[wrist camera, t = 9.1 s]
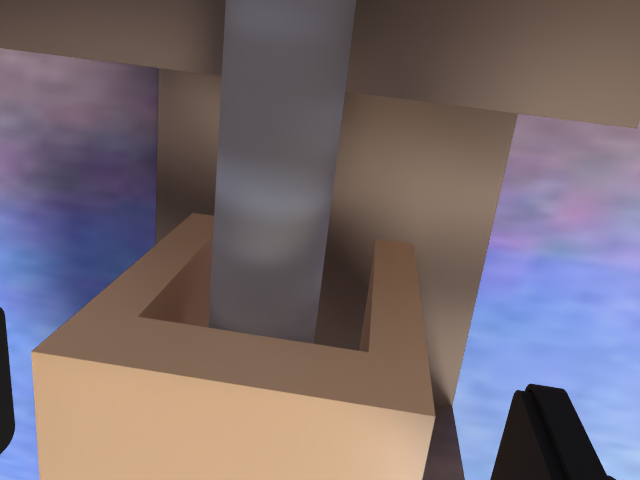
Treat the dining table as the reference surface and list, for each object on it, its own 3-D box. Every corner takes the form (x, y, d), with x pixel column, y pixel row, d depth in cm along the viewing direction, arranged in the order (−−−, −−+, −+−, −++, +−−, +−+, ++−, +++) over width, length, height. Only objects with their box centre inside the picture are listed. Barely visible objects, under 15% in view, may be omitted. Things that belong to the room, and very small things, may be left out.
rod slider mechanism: (175, -193, 18) (-194, -601, 7) (569, -156, 17) (927, -554, 6) (159, 478, 26) (-13, 801, 15) (420, 525, 26) (443, 904, 14)
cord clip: (192, 212, 16) (31, 351, 9) (413, 243, 15) (435, 416, 8) (188, 342, 17) (44, 554, 10) (391, 374, 17) (392, 619, 9)
